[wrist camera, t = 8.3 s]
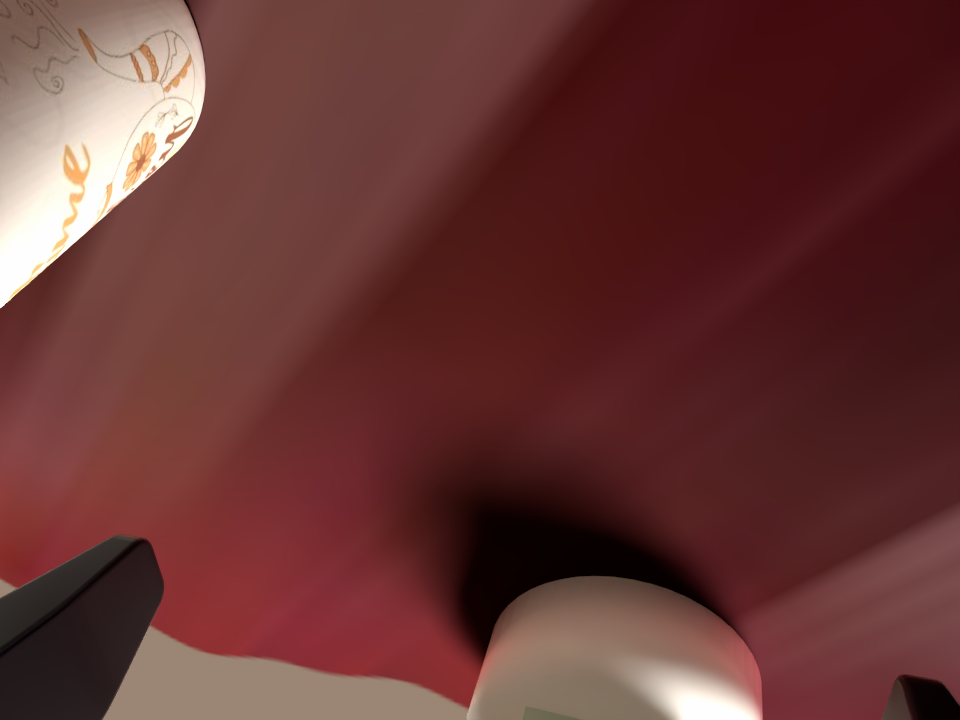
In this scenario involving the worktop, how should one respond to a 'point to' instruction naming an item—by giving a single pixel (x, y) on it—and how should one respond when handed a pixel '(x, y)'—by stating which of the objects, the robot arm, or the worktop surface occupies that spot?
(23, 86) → the mug
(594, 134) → the worktop surface
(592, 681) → the cream tin
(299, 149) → the worktop surface
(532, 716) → the white cube
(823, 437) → the worktop surface
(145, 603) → the robot arm
